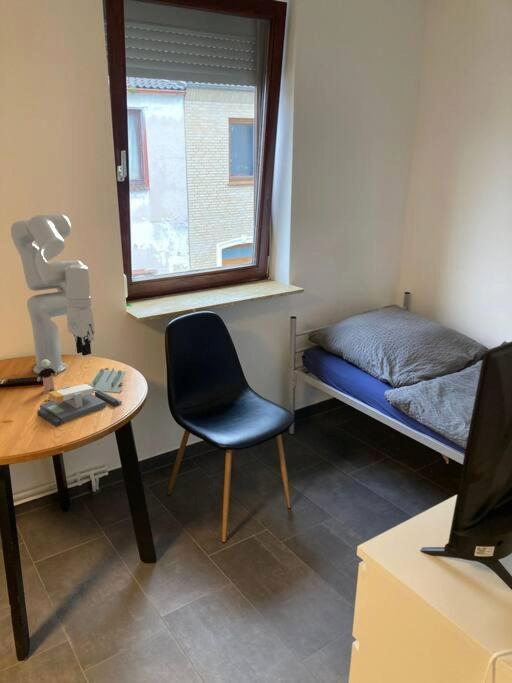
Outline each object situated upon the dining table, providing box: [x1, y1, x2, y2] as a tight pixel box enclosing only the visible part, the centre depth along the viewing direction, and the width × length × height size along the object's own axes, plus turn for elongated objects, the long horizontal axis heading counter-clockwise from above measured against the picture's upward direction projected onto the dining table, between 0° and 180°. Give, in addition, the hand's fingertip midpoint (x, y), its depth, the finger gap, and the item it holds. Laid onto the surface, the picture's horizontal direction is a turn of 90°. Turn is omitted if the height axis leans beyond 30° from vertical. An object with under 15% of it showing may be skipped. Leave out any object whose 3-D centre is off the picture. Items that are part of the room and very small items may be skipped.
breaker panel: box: [39, 385, 107, 425], centre depth 188 cm, size 14×17×7 cm
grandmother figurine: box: [36, 359, 58, 394], centre depth 199 cm, size 8×4×13 cm, turn 147°
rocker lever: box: [48, 383, 95, 403], centre depth 187 cm, size 6×14×2 cm, turn 138°
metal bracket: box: [86, 367, 127, 394], centre depth 208 cm, size 14×6×15 cm
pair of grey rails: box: [37, 391, 123, 428], centre depth 188 cm, size 13×25×2 cm, turn 138°
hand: (84, 353), depth 187 cm, fingers open, 2 cm apart
